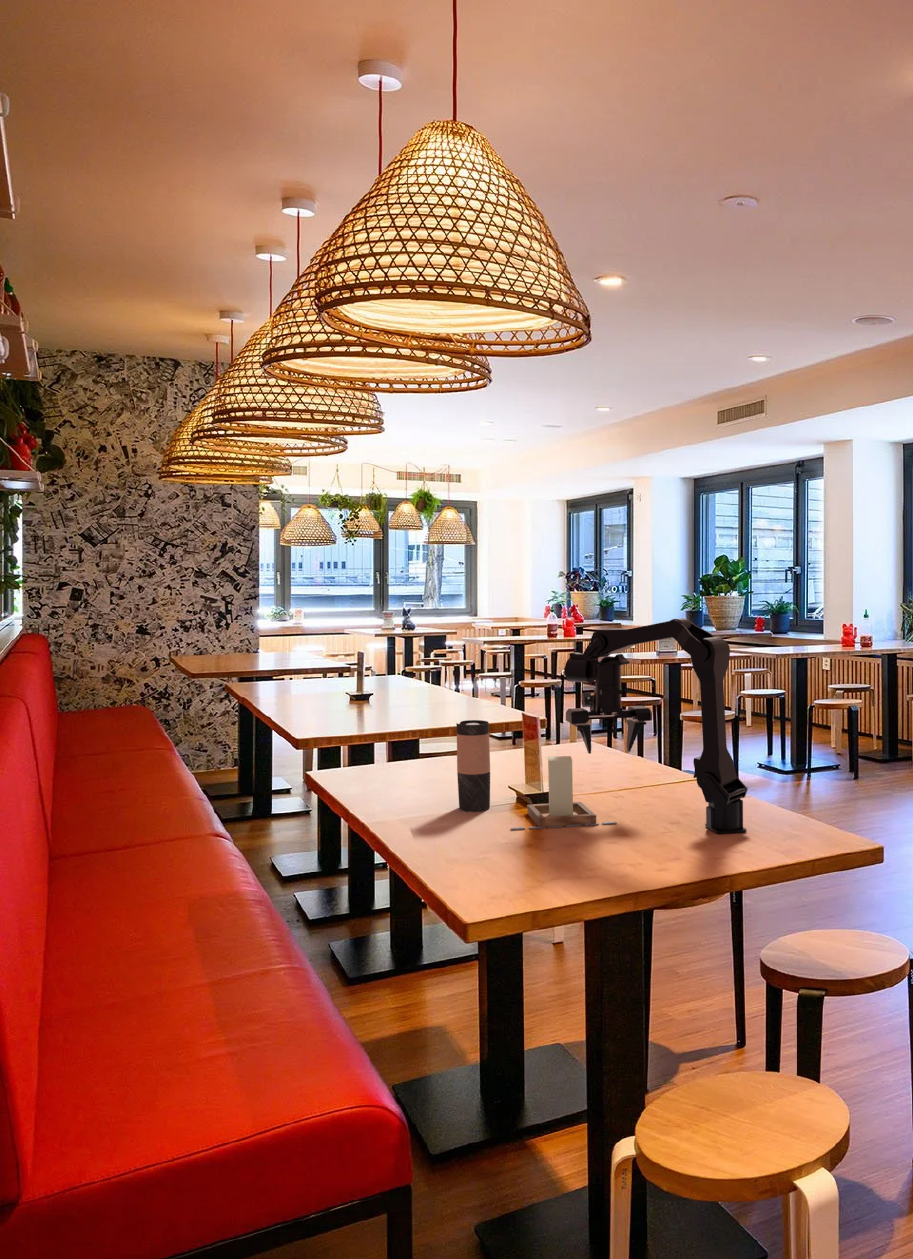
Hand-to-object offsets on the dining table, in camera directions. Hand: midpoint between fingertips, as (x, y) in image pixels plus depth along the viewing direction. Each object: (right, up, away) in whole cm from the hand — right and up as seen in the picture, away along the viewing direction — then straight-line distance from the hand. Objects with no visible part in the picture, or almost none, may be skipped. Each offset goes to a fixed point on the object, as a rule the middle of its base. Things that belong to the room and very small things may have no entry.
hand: (609, 752), depth 214 cm
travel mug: (-30, -14, +4) cm, 34 cm away
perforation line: (-12, -14, -14) cm, 23 cm away
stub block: (-12, -13, -7) cm, 19 cm away
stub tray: (-12, -14, -7) cm, 19 cm away
